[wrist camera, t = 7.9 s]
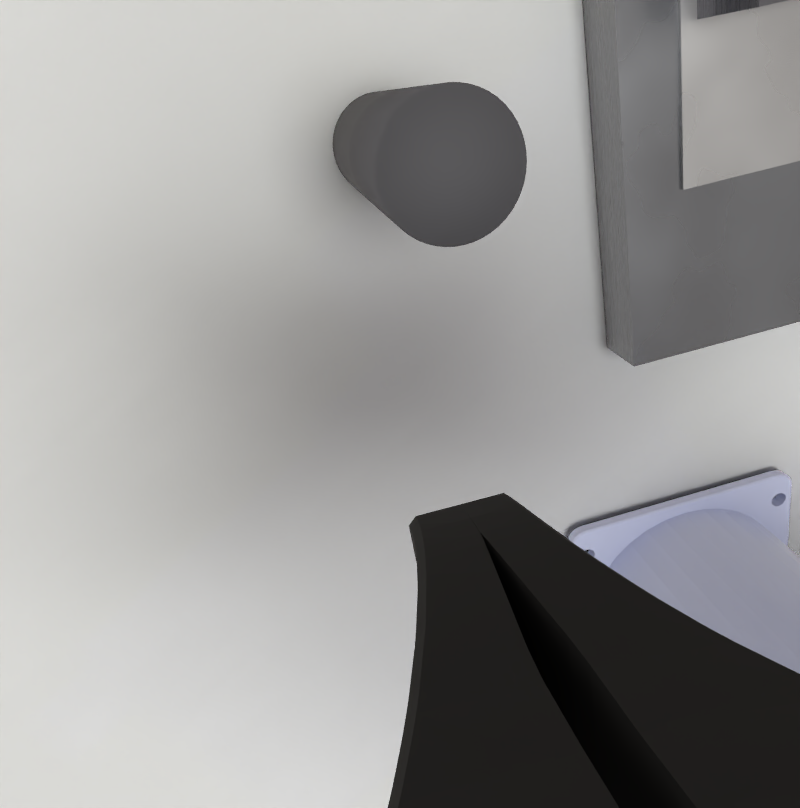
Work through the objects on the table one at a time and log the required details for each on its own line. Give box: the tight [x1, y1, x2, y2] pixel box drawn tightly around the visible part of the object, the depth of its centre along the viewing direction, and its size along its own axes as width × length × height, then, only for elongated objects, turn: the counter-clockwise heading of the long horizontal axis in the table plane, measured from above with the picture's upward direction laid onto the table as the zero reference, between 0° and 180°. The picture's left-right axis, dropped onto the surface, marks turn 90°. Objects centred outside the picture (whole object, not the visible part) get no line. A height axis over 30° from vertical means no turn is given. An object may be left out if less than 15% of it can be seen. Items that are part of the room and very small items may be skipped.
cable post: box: [333, 82, 527, 247], centre depth 13 cm, size 2×2×7 cm
